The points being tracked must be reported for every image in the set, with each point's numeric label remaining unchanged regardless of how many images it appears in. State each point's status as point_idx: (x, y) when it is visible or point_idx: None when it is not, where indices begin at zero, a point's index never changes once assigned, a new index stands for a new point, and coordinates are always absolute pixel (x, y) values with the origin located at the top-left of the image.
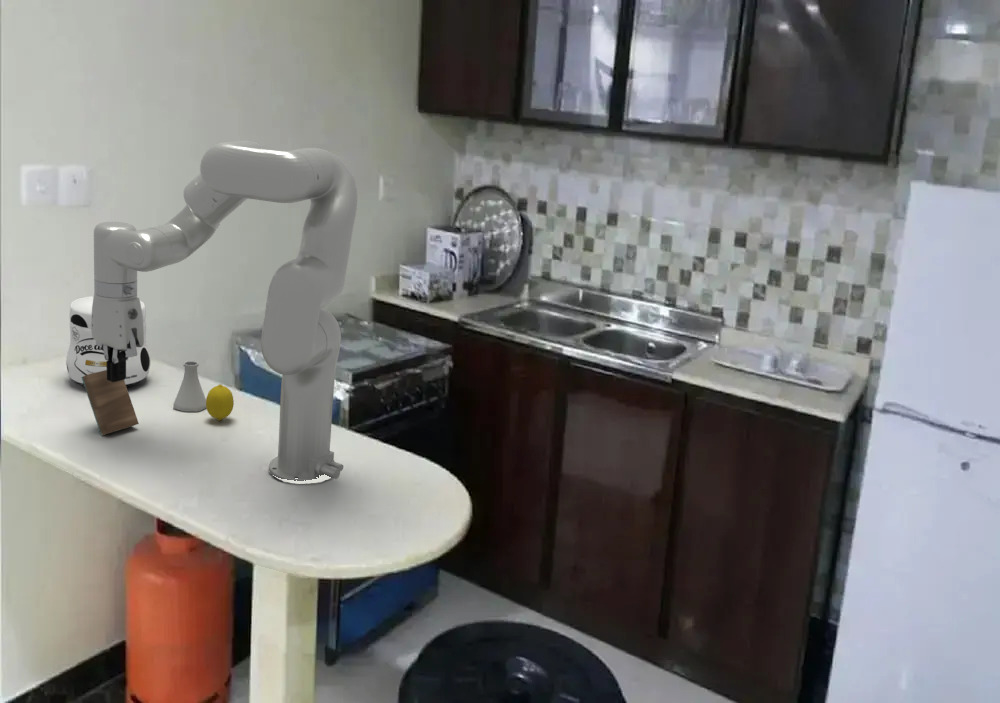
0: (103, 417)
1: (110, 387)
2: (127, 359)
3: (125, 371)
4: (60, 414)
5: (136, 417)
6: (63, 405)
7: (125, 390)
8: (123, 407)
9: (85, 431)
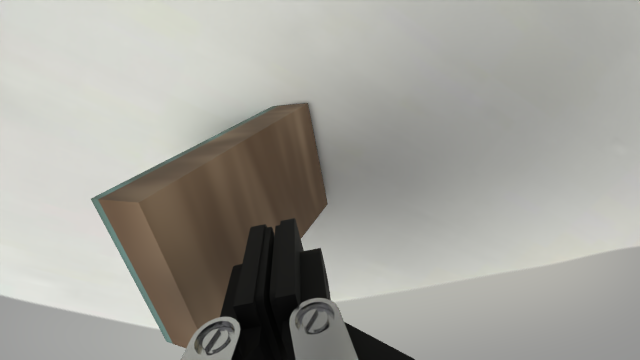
0: (307, 229)
1: (237, 229)
2: (336, 309)
3: (296, 243)
4: (97, 227)
5: (297, 109)
6: (19, 197)
7: (237, 155)
8: (282, 161)
9: None
